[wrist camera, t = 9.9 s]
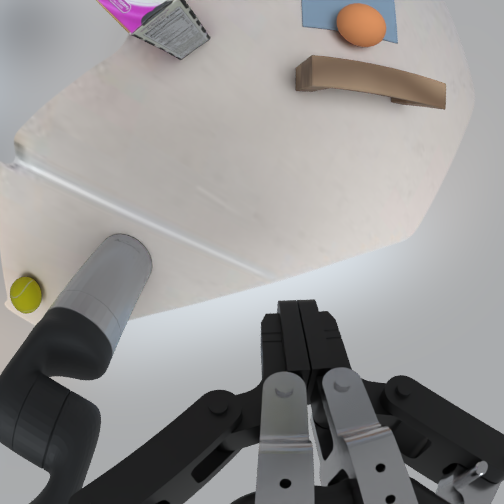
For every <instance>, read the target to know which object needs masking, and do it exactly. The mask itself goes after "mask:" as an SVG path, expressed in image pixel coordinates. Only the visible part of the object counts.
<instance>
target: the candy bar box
mask: <svg viewBox="0 0 504 504" xmlns="http://www.w3.org/2000/svg"><path fill="white" fill-rule="evenodd" d="M96 1H97V2H98V3H99V4H100V5H101V6H102V7H103V8H104V9H105V10H106V11H107V12H108V13H109V14H110V15H111V16H112V17H113V18H114V19H115V20H116V21H117V22H118V23H119V24H120V25H121V26H122V27H123V28H124V29H125V30H126V31H127V32H128V33H129V34H130V35H132V36H135V37H137V38H139V39H141V40H143V41H145V42H147V43H149V44H151V45H153V46H155V47H158V48H160V49H162V50H164V51H165V52H167V53H169V54H171V55H173V56H175V57H176V58H178V59H180V60H182V59H183V58H184V57H186V56H187V55H188V54H189V53H191V52H192V51H193V50H194V49H196V48H197V47H199V46H200V45H202V44H203V43H204V42H206V41H207V40H209V39H210V36H209V35H208V33H207V32H206V30H205V29H204V27H203V26H202V24H201V23H200V21H199V20H198V18H197V17H196V15H195V14H194V13H193V11H192V10H191V8H190V7H189V6H188V4H187V3H186V2H185V0H96Z"/></svg>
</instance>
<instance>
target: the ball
mask: <svg viewBox="0 0 504 504" xmlns="http://www.w3.org/2000/svg"><path fill="white" fill-rule="evenodd" d="M337 28H338V30H339V32H340V34H341V35H342V36H343V37H344V38H345V39H346V40H347V41H348V42H350V43H352V44H354V45H357V46H361V47H370V46H374V45H376V44H378V43H379V42H381V41H382V40H383V38H384V36H385V34H386V23H385V20H384V18H383V17H382V15H381V14H380V13H379V12H378V11H377V10H376V9H374V8H373V7H371V6H369V5H366V4H361V3H354V4H349V5H347V6H345V7H344V8H342V9H341V10H340V12H339V13H338V16H337Z"/></svg>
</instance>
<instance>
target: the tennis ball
mask: <svg viewBox="0 0 504 504" xmlns="http://www.w3.org/2000/svg"><path fill="white" fill-rule="evenodd" d="M41 297H42V295H41V290H40V287H39V285H38V284H37V282H36V281H35V280H33V279H32V278H30V277H21V278H19V279H17V280H16V281H15V282H14V283H13V284H12V286H11V289H10V298H11V301H12V303H13V305H14V307H15V308H16V309H17V310H18V311H20V312H22V313H31V312H33V311H35V310H36V309H37V308H38V307H39V305H40V303H41Z"/></svg>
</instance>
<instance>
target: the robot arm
mask: <svg viewBox="0 0 504 504" xmlns="http://www.w3.org/2000/svg"><path fill="white" fill-rule="evenodd" d="M151 270H152V261H151V257H150V255H149V253H148V251H147V249H146V248H145V247H144V246H143V245H142V244H141V243H140V242H139V241H138V240H136V239H135V238H133V237H130V236H128V235H123V234H116V235H112V236H110V237H108V238H106V240H105V241H104V242H103V243H102V244H101V245H100V246H99V247H98V248H97V250H96V251H95V252H94V253H93V254H92V255H91V256H90V257H89V259H88V260H87V261H86V262H85V263H84V265H83V266H82V267H81V268H80V269H79V271H78V272H77V273H76V274H75V276H74V277H73V278H72V279H71V281H70V282H69V283H68V284H67V286H66V287H65V288H64V289H63V291H62V292H61V293H60V295H59V296H58V298H57V299H56V300H55V302H54V303H53V304H52V306H51V307H50V308H49V310H48V311H47V313H46V314H45V315H44V317H43V318H42V319H41V320H40V321H39V322H38V323H37V325H36V326H35V327H34V328H33V330H32V331H31V333H30V334H29V335H28V337H27V339H26V340H25V341H24V343H23V344H22V345H21V347H20V348H19V350H18V351H17V352H16V354H15V355H14V357H13V358H12V359H11V361H10V362H9V364H8V365H7V366H6V368H5V369H4V371H3V372H2V374H1V375H0V442H1V443H2V444H3V445H5V446H6V447H8V448H9V449H11V450H12V451H14V452H15V453H17V454H18V455H20V456H22V457H23V458H25V459H27V460H28V461H30V462H32V463H33V464H35V465H37V466H38V467H40V468H44V470H46V471H47V472H49V473H50V479H49V481H48V483H47V485H46V487H45V488H44V489H43V491H42V492H41V493H40V494H39V495H38V496H37V497H36V498H35V499H34V500H33V501H32V502H31V503H29V504H183V503H185V502H186V501H187V500H188V499H189V498H190V497H192V496H193V495H194V494H195V493H196V492H197V491H198V490H199V489H201V488H202V487H203V486H204V485H205V484H206V483H207V482H208V481H210V480H211V479H212V478H213V477H214V476H215V475H216V474H217V473H218V472H219V471H220V470H221V469H222V468H223V467H224V466H225V465H226V464H227V463H228V462H229V461H230V460H231V459H232V458H233V457H234V456H235V455H236V454H237V453H238V452H239V451H240V450H241V449H242V448H244V447H248V446H251V445H254V444H257V443H259V454H258V468H257V482H256V492H252V493H250V494H247V495H244V496H242V497H240V498H238V499H237V500H235V501H233V502H232V503H231V504H491V502H492V500H493V498H494V496H495V494H496V492H497V490H498V488H499V485H500V483H501V482H502V481H503V480H504V434H502V433H500V432H499V431H497V430H495V429H494V428H492V427H490V426H489V425H487V424H485V423H484V422H482V421H480V420H478V419H477V418H475V417H474V416H472V415H470V414H469V413H467V412H465V411H464V410H462V409H460V408H459V407H457V406H455V405H454V404H452V403H450V402H449V401H447V400H446V399H444V398H442V397H441V396H439V395H437V394H436V393H434V392H433V391H431V390H430V389H428V388H426V387H425V386H423V385H421V384H420V383H418V382H417V381H415V380H413V379H412V378H410V377H407V376H401V375H400V376H395V377H393V378H391V379H390V380H389V381H388V382H387V383H378V382H370V381H366V380H364V379H362V378H360V376H359V375H358V374H357V373H356V372H355V371H353V370H352V369H351V366H350V363H349V360H348V357H347V353H346V350H345V347H344V344H343V341H342V339H341V335H340V332H339V330H338V326H337V323H336V320H335V319H334V318H333V316H332V315H331V314H330V313H329V312H328V311H322V312H319V311H318V307H317V304H316V301H315V300H297V301H296V300H290V301H278V309H277V313H276V314H266V315H265V317H264V319H263V320H262V322H261V363H262V381H261V382H260V384H259V385H258V386H257V387H256V388H254V389H253V390H251V391H248V392H246V393H242V394H238V395H234V394H233V393H231V392H229V391H225V390H214V391H210V392H208V393H206V394H204V395H203V396H202V397H201V398H200V399H198V400H197V401H196V402H195V403H194V404H193V405H191V406H190V407H189V408H188V409H187V410H186V411H184V412H183V413H182V414H181V415H180V416H178V417H177V418H176V419H175V420H174V421H172V422H171V423H170V424H169V425H167V426H166V427H165V428H164V429H163V430H161V431H160V432H159V433H158V434H156V435H155V436H154V437H153V438H151V439H150V440H149V441H148V442H146V443H145V444H144V445H142V446H141V447H140V448H138V449H137V450H136V451H134V452H133V453H132V454H131V455H129V456H128V457H126V458H125V459H124V460H122V461H121V462H120V463H118V464H117V465H116V466H114V467H113V468H111V469H110V470H108V471H107V472H106V473H104V474H103V475H101V476H100V477H98V478H97V479H95V480H94V481H93V482H91V483H90V484H88V485H87V486H85V487H84V488H82V486H83V482H84V480H85V477H86V474H87V471H88V468H89V465H90V463H91V459H92V457H93V454H94V451H95V448H96V444H97V441H98V437H99V432H100V424H101V417H100V416H101V415H100V411H99V409H98V408H97V406H96V405H94V404H93V403H91V402H90V401H88V400H86V399H84V398H83V397H81V396H80V395H78V394H76V393H74V392H72V391H71V392H70V390H69V389H67V388H66V387H64V386H62V385H60V384H59V383H57V382H56V381H54V380H52V379H51V378H49V377H52V376H63V377H70V378H75V379H80V380H94V379H98V378H100V377H101V376H102V375H103V374H104V373H105V372H106V370H107V368H108V365H109V363H110V360H111V358H112V356H113V353H114V351H115V348H116V346H117V344H118V342H119V339H120V337H121V335H122V332H123V330H124V328H125V326H126V324H127V321H128V319H129V317H130V315H131V313H132V311H133V308H134V306H135V304H136V302H137V300H138V298H139V296H140V294H141V292H142V290H143V288H144V286H145V284H146V282H147V280H148V278H149V276H150V273H151ZM309 404H311V407H312V415H311V420H310V421H311V426H312V430H313V435H314V439H315V443H316V447H317V451H318V456H319V460H320V481H321V485H322V486H314V466H313V465H314V464H313V447H312V443H311V441H310V440H309V432H308V412H307V405H309ZM404 463H405V464H407V465H408V466H410V467H411V468H413V469H414V470H416V471H417V472H419V473H421V474H422V475H424V476H426V477H427V478H429V479H430V480H432V481H434V482H435V483H437V484H438V488H437V490H436V494H435V493H434V492H432V491H431V490H429V489H428V488H426V487H425V486H423V485H422V484H420V483H419V482H418V481H416V480H415V479H413V478H411V477H409V475H408V472H407V470H406V467H405V464H404Z"/></svg>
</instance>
